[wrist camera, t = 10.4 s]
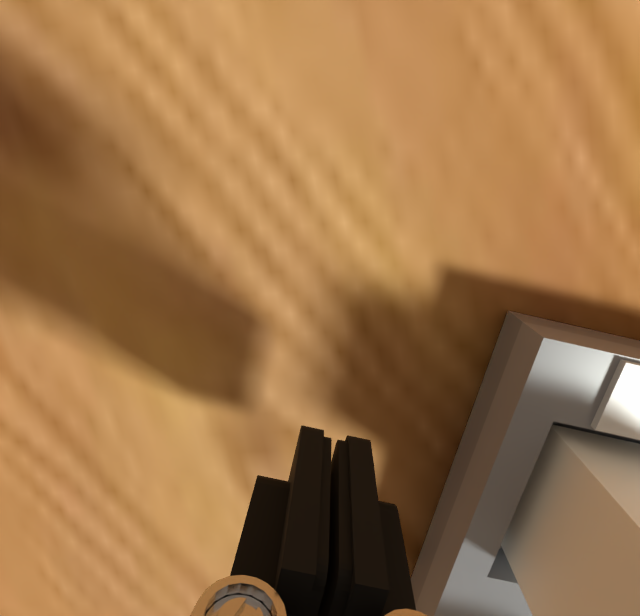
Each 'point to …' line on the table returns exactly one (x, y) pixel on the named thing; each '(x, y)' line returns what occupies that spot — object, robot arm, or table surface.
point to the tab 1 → (579, 527)
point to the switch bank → (518, 454)
